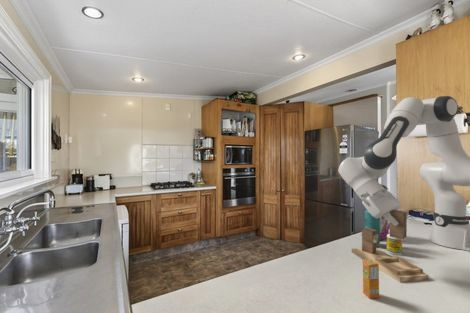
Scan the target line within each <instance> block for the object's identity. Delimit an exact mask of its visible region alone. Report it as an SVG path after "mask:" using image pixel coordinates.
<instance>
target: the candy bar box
mask: <svg viewBox="0 0 470 313" xmlns="http://www.w3.org/2000/svg"><path fill="white" fill-rule="evenodd" d="M389 229H390V223H388V220H386V219H385V218H384V217H383V216H382V217H380V241H381V240H384V239H387V234H389Z"/></svg>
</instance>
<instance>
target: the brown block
mask: <svg viewBox="0 0 470 313" xmlns="http://www.w3.org/2000/svg"><path fill="white" fill-rule="evenodd" d="M390 214H391V216H393V217H394V218H395V219H397V220H398V221H399V222H400V223H399V224H398V225H396V226H394V225H393V224H392V223H391V222H389V221H388V223H390V237H395V238H399V239H402V240H404V239H406V238H407V225H408V224H407V222H408V221H407V219H408V216H407V214H408V212H407V211H403V210H399V209H398V210H393V211H390Z"/></svg>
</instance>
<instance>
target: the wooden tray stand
mask: <svg viewBox="0 0 470 313" xmlns="http://www.w3.org/2000/svg"><path fill="white" fill-rule="evenodd" d="M376 242H378V234H376V230H374V229H370V228H365V227H364V228H362V229H361V247H360V248H359V247H356V248H351V253H352V254H354V255H356V256H357V257H359V258H360V259H362V261H363V260H373V261H374V262H376V263H378V265H379V271H381V272H383V273H384V274H386V275H388V276H389V277H391V278H393V279H395V280H396V281H397V282H399V283H406V282H414V281H415V282H416V281H417V282H418V281H427V280H429V274H428V273H425V272H424V269H423V268H421V267H419V266H417V265H415V264H412V263H411V262H409V261H407V260H405V259H403V258H401V257H399V256H392V255H390V253H389V254H388V252H385V251H382V250H380V249H378V248H377V244H376Z"/></svg>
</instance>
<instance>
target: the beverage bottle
mask: <svg viewBox="0 0 470 313" xmlns="http://www.w3.org/2000/svg"><path fill="white" fill-rule="evenodd" d="M364 228H370V229H374V230H376V234H378V242H376V245H380V243H381V240H380V217H379V218H377V219H376V218H374V217H373V216H372V215H371V214H370V213H369V211H368V210H367V209H366V210H364Z"/></svg>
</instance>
